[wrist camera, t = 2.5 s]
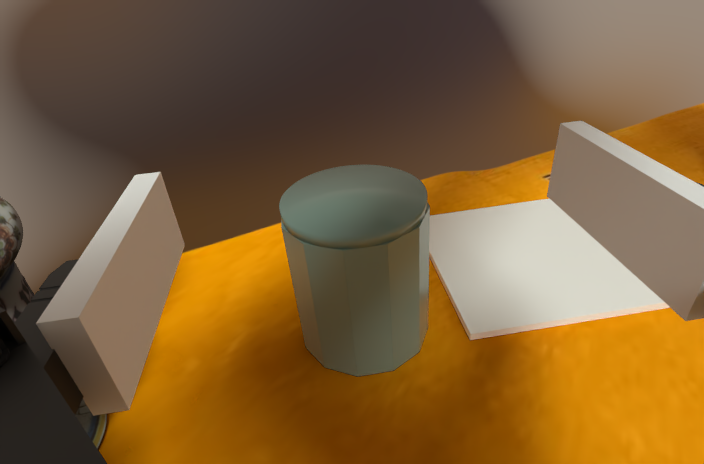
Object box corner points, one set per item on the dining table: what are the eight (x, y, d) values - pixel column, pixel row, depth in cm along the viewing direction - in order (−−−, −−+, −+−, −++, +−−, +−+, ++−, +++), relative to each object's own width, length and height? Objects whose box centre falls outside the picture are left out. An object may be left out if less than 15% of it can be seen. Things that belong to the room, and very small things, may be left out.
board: (565, 201, 46) (566, 196, 45) (683, 305, 32) (686, 299, 32) (413, 223, 44) (412, 218, 44) (470, 340, 31) (470, 334, 31)
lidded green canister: (409, 279, 37) (407, 157, 31) (441, 362, 30) (447, 223, 24) (302, 295, 37) (279, 174, 31) (307, 384, 29) (278, 247, 23)
